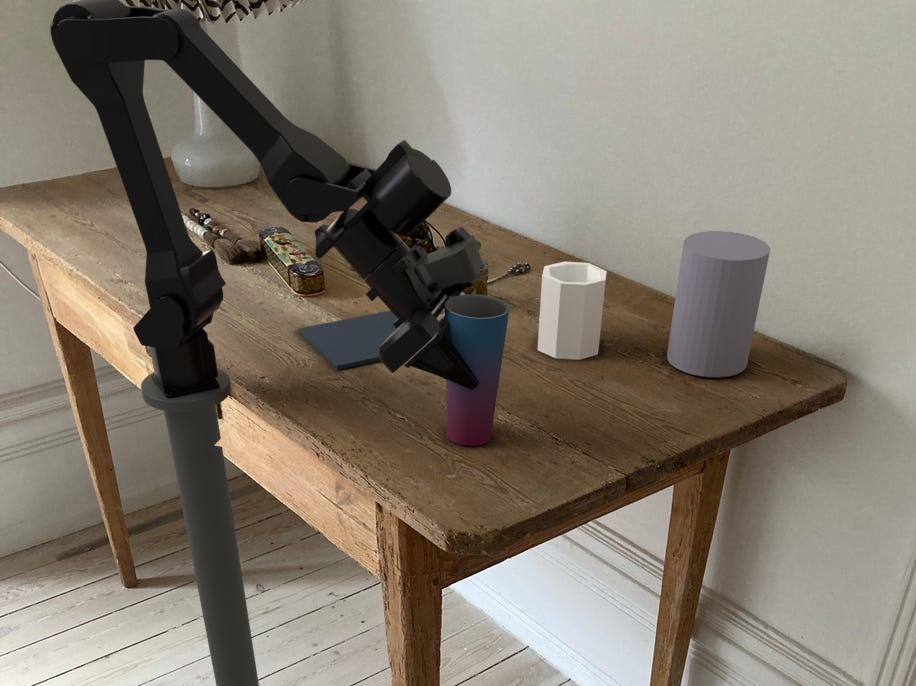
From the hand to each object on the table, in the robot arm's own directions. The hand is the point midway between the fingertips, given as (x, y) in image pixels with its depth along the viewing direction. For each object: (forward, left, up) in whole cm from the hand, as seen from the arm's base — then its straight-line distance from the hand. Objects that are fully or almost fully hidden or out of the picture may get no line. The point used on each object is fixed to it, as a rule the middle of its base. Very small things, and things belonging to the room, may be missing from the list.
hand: (483, 374), depth 112 cm
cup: (-1, +1, -8) cm, 8 cm away
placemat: (0, +30, -8) cm, 31 cm away
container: (+36, +4, -8) cm, 37 cm away
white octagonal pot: (+23, +18, -8) cm, 30 cm away
